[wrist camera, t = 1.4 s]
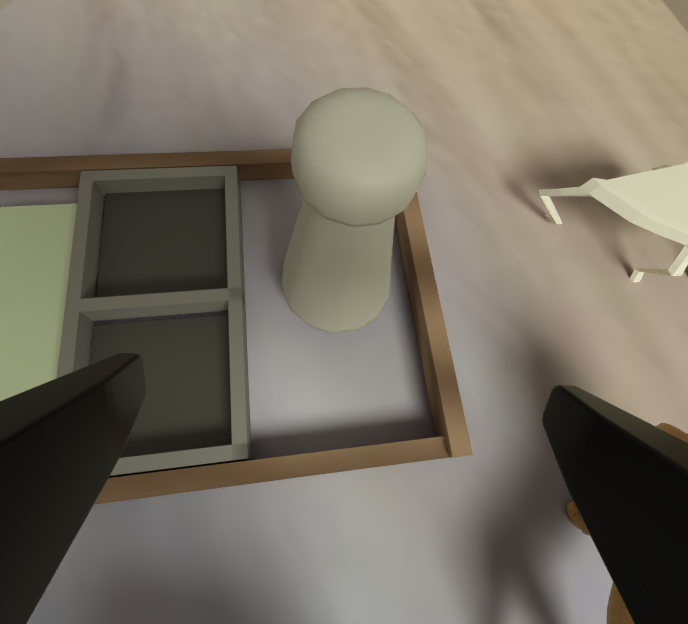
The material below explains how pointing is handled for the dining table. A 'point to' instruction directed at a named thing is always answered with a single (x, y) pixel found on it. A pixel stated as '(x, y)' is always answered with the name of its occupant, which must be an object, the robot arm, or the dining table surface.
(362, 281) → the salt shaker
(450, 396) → the wooden frame
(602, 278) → the dining table surface
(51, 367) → the pad
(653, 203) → the origami figure
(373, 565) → the dining table surface
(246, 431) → the trap pits
